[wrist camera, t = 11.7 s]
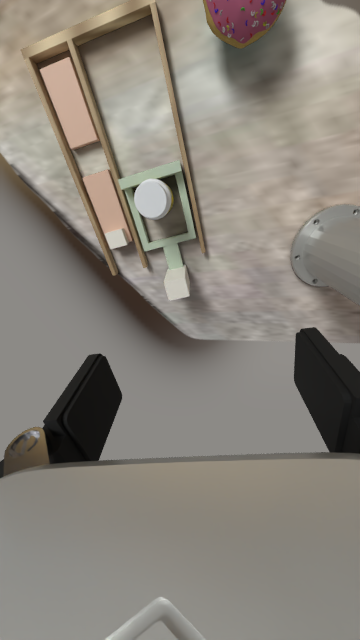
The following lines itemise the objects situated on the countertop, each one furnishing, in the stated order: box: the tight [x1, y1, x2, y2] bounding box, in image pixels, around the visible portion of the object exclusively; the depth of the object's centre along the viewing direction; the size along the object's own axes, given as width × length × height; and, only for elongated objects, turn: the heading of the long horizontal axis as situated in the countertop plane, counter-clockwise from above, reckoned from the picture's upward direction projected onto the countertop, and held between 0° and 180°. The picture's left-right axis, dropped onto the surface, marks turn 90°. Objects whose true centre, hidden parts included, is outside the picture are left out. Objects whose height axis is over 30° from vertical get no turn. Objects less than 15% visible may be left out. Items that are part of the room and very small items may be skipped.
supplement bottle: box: [134, 179, 174, 220], centre depth 31 cm, size 5×5×8 cm
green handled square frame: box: [118, 160, 196, 301], centre depth 34 cm, size 9×17×7 cm, turn 15°
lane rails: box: [21, 0, 205, 275], centre depth 32 cm, size 16×28×2 cm, turn 14°
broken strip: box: [40, 57, 133, 249], centre depth 32 cm, size 4×22×2 cm, turn 14°
